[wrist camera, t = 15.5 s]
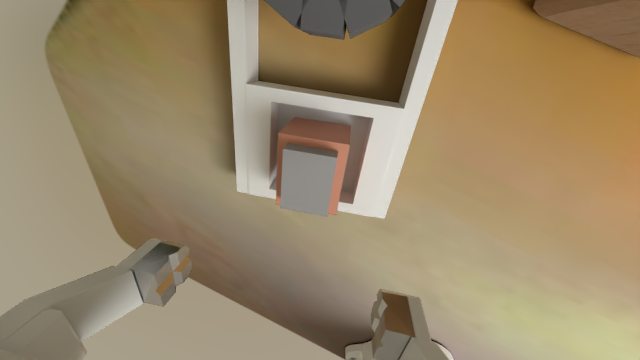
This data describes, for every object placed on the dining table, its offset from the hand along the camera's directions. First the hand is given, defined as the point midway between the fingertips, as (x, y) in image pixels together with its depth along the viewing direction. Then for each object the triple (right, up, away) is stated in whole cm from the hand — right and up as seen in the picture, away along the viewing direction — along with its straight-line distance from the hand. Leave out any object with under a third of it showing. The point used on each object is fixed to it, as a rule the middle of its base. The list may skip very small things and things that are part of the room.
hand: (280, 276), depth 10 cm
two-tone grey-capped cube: (+2, +7, +12) cm, 14 cm away
